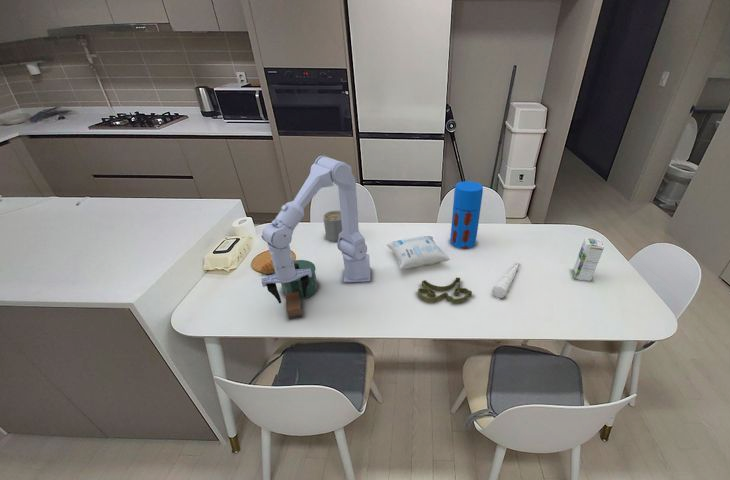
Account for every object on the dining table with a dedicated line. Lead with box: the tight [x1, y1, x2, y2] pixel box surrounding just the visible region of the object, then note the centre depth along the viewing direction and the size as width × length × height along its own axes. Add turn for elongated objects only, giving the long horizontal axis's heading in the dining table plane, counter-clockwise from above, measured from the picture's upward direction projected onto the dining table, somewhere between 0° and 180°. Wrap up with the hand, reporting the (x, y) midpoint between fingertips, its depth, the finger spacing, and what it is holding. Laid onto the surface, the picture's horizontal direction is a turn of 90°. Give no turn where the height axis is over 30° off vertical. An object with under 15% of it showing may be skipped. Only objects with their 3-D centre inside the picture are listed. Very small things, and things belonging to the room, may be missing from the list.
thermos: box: [450, 180, 484, 250], centre depth 142 cm, size 11×11×25 cm
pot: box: [280, 271, 318, 300], centre depth 121 cm, size 12×12×8 cm
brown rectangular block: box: [285, 291, 303, 320], centre depth 113 cm, size 9×4×4 cm, turn 17°
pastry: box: [260, 259, 275, 275], centre depth 131 cm, size 9×7×4 cm
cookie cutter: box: [417, 277, 473, 305], centre depth 121 cm, size 18×12×2 cm, turn 98°
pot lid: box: [291, 259, 316, 282], centre depth 118 cm, size 13×13×3 cm
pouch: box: [385, 235, 451, 270], centre depth 136 cm, size 8×19×20 cm
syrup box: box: [572, 237, 605, 282], centre depth 126 cm, size 6×6×14 cm
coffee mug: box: [322, 209, 342, 243], centre depth 151 cm, size 13×10×10 cm
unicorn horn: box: [491, 263, 519, 299], centre depth 126 cm, size 5×24×5 cm, turn 146°
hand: (292, 298), depth 111 cm, fingers open, 7 cm apart
